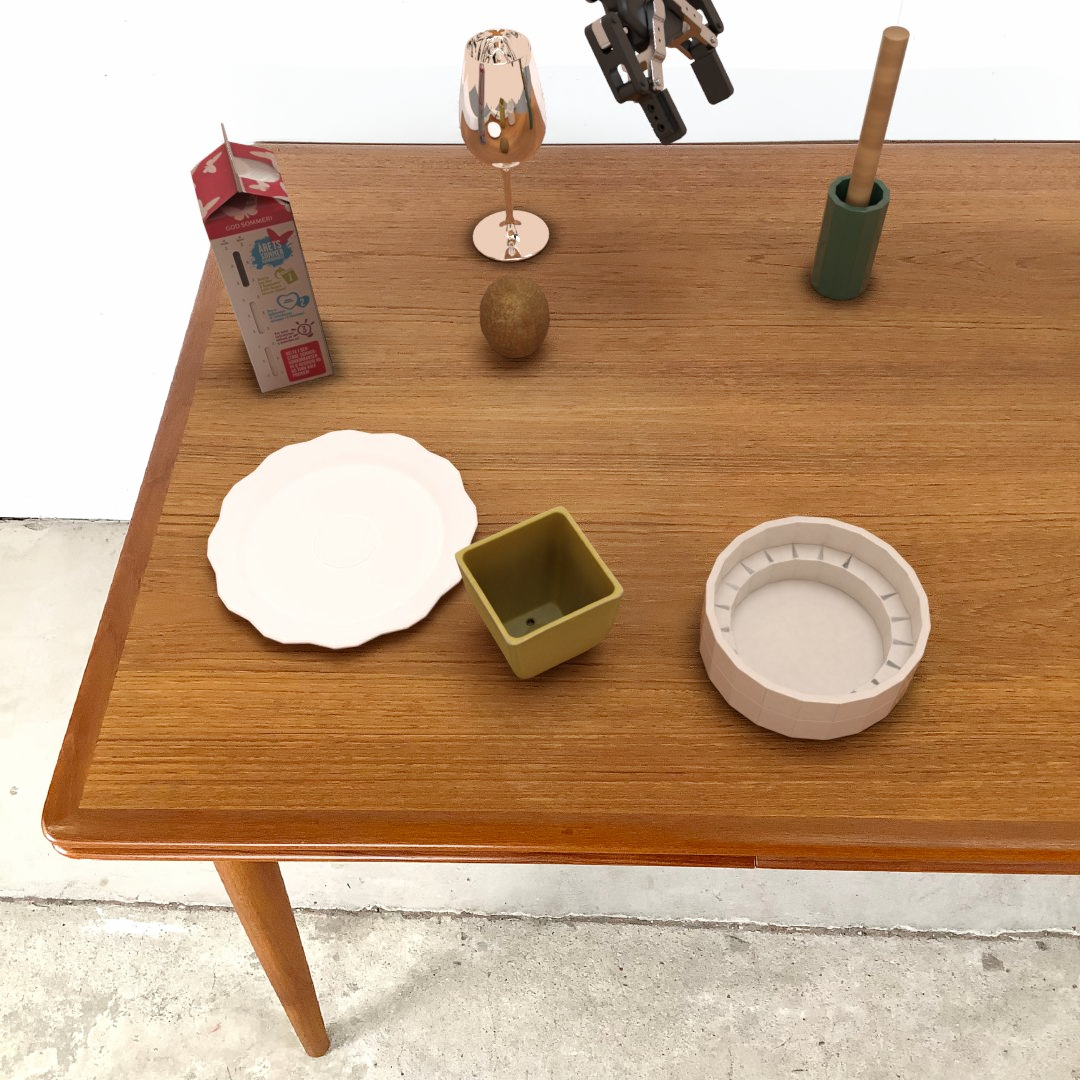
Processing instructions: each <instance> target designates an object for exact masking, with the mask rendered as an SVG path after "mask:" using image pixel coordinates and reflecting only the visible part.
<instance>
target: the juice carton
mask: <svg viewBox="0 0 1080 1080" xmlns="http://www.w3.org/2000/svg"><path fill="white" fill-rule="evenodd" d="M220 126H221V127H220V128H221V131H222V135H223V142H222V144H220V145H218V147H216V148H215V149H214V150H213V151H211V152H210V153H209V154H208V155H206V156H205V157H204V158H203V159H201V160H200V161H199V162H197V163H196V164H195V166H193V167H192V169H191V170H190V176H191V180H192V184H193V188H194V192H195V196H196V200H197V203H198V208H199V212H200V215H201V220H202V224H203V226H204V230H205V233H206V235H207V238H208V241H209V244H210V246H211V250H212V253H213V255H214V259H215V261H216V264H217V267H218V271H219V274H220V276H221V279H222V282H223V285H224V288H225V290H226V293H227V296H228V300H229V302H230V305H231V308H232V311H233V314H234V316H235V320H236V322H237V325H238V328H239V331H240V334H241V337H242V340H243V343H244V345H245V346H244V347H245V348H246V351H247V354H248V357H249V360H250V363H251V367H252V369H253V372H254V374H255V377H256V380H257V383H258V386H259V389H260V392H261V393H267V392H270V391H274V390H279V389H281V388H282V389H283V388H285V387H289V386H293V385H297V384H302V383H305V382H309V381H312V380H315V379H320V378H324V377H328V376H331V375H335V374H336V373H335V368H334V365H333V362H332V361H333V360H332V358H331V354H330V350H329V347H328V342H327V339H326V335H325V331H324V327H323V324H322V320H321V316H320V313H319V308H318V304H317V301H316V296H315V293H314V290H313V286H312V282H311V279H310V278H311V277H310V274H309V271H308V266H307V263H306V258H305V255H304V251H303V248H302V243H301V240H300V236H299V232H298V228H297V225H296V221H295V217H294V213H293V210H292V209H293V208H292V206H291V202H290V199H289V198H290V197H289V196H288V193H287V190H286V187H285V184H284V180H283V177H282V174H281V170H280V168H279V165H278V161H277V159H276V155H275V152H274V151H272V150H269V149H267V148H263V147H259V146H253V145H248V144H244V143H240V142H234V141H229V139H228V135H227V131H226V129H225V125H224V122H221V123H220Z"/></svg>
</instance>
